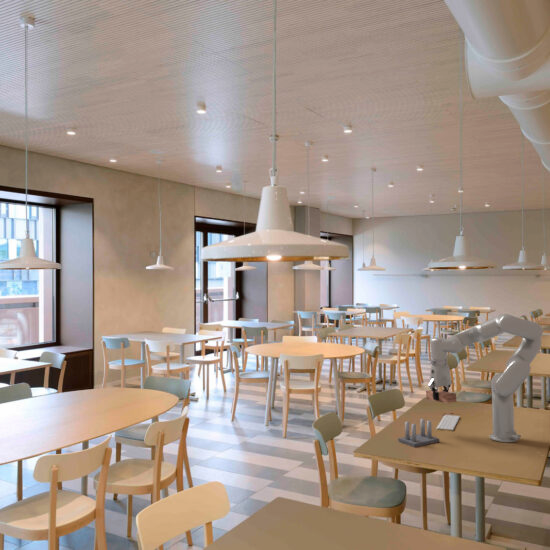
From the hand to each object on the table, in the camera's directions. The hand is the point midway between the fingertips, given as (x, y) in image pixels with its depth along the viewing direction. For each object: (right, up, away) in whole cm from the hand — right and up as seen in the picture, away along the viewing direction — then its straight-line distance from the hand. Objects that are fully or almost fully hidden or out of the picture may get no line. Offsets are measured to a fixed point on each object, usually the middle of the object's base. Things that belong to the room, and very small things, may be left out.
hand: (440, 398), depth 272 cm
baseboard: (+10, -19, +24) cm, 32 cm away
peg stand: (-13, -19, -9) cm, 25 cm away
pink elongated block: (0, -1, 0) cm, 1 cm away
